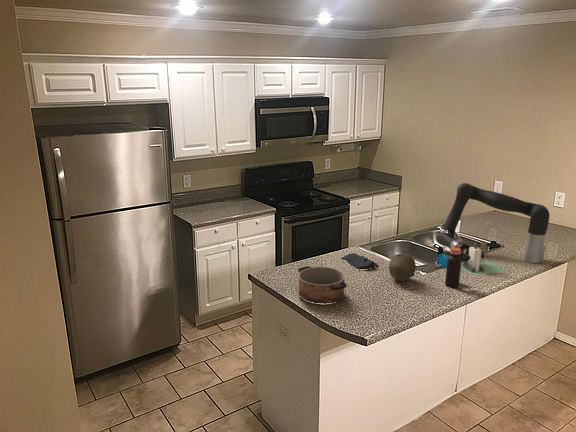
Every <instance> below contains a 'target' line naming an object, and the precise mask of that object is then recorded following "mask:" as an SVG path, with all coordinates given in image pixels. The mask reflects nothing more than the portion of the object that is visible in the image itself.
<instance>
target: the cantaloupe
mask: <svg viewBox="0 0 576 432" xmlns="http://www.w3.org/2000/svg"><path fill="white" fill-rule="evenodd" d="M416 266H417V265H416V262H415V259H414V257H412V256H411V255H410V254H407V253H404V252H399V253H396V254H395V255H393V256H392V257H391V259H390V261H389V263H388V271H389V274H390V276H391V277H392V278H393V279H394V280H395V281H399V282H404V281H408V280H410V279H411V278H412V277H413V275H414V274H415V272H416Z"/></svg>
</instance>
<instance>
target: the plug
mask: <svg viewBox="0 0 576 432" xmlns="http://www.w3.org/2000/svg"><path fill="white" fill-rule="evenodd" d="M469 247H470V248H469V256H470V260H468V259H467V263H468V266H470V267H472V268H475V271H479V267H480V262H481V259H482V258H481V251H482V249H480V248H479V247H478V242H474V245H473V246H469Z"/></svg>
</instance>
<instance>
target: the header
mask: <svg viewBox="0 0 576 432" xmlns="http://www.w3.org/2000/svg"><path fill="white" fill-rule="evenodd" d="M462 264H463V267H464V268H466V269H467V270H469V271H470V272H475V268H472V267H470V266H468V262H463V263H462ZM479 270H480V271H484V267H482V266H481V265H480V267H479Z"/></svg>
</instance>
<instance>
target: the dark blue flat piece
mask: <svg viewBox="0 0 576 432" xmlns="http://www.w3.org/2000/svg"><path fill="white" fill-rule="evenodd" d="M341 259H343V260H346V261H347V262H348V263H349V264H350V265H351V266H353V267H355V268H356V269H370V268H374V267H375V266H378V265H379V264H378V263H376V262H375V261H373V260H371V259H368V258H367V257H365V256H363V255H359V254H357V253H348V254H346V255H344V256H343V257H341ZM378 267H379V266H378ZM374 269H375V268H374Z"/></svg>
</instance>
